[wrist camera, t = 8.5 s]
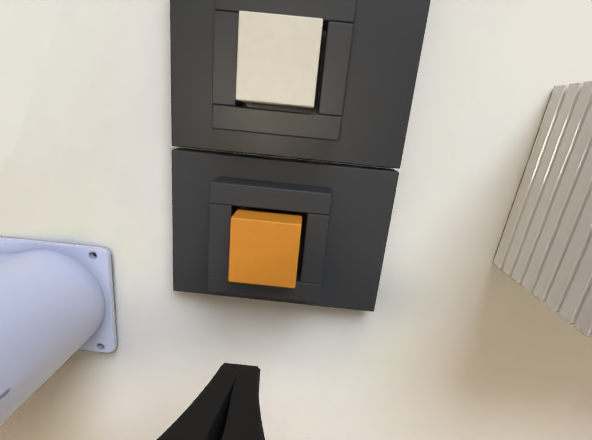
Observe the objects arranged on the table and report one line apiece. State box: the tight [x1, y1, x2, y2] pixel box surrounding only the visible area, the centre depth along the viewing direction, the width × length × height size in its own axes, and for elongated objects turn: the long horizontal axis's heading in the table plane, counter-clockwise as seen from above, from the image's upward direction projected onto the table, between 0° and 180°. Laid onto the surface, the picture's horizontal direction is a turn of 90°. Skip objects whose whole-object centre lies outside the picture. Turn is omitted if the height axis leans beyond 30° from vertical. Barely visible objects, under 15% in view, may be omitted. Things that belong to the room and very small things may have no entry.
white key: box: [236, 11, 323, 108], centre depth 16 cm, size 4×4×2 cm
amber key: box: [228, 209, 302, 288], centre depth 18 cm, size 4×4×2 cm
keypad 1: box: [172, 148, 399, 311], centre depth 20 cm, size 13×9×3 cm
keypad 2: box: [170, 0, 430, 169], centre depth 17 cm, size 13×9×3 cm
